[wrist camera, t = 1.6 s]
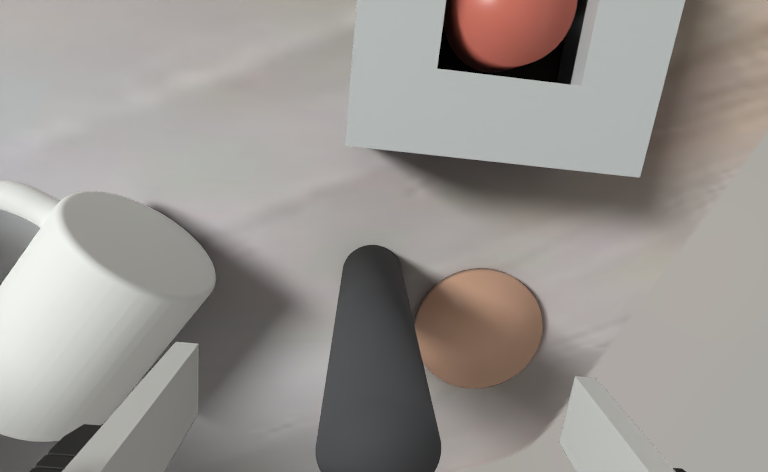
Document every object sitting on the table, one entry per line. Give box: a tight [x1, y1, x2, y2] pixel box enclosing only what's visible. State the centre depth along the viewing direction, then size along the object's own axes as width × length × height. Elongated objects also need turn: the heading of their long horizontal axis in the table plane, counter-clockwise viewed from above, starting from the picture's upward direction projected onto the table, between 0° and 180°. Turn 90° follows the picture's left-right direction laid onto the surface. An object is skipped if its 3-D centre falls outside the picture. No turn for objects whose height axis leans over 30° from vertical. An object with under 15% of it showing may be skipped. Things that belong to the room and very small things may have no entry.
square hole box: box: [345, 0, 685, 178], centre depth 20 cm, size 12×12×8 cm
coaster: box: [414, 268, 543, 388], centre depth 28 cm, size 8×8×1 cm
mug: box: [0, 180, 216, 442], centre depth 23 cm, size 12×10×8 cm
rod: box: [316, 245, 441, 472], centre depth 20 cm, size 4×4×15 cm
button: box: [444, 0, 578, 73], centre depth 18 cm, size 5×5×3 cm
